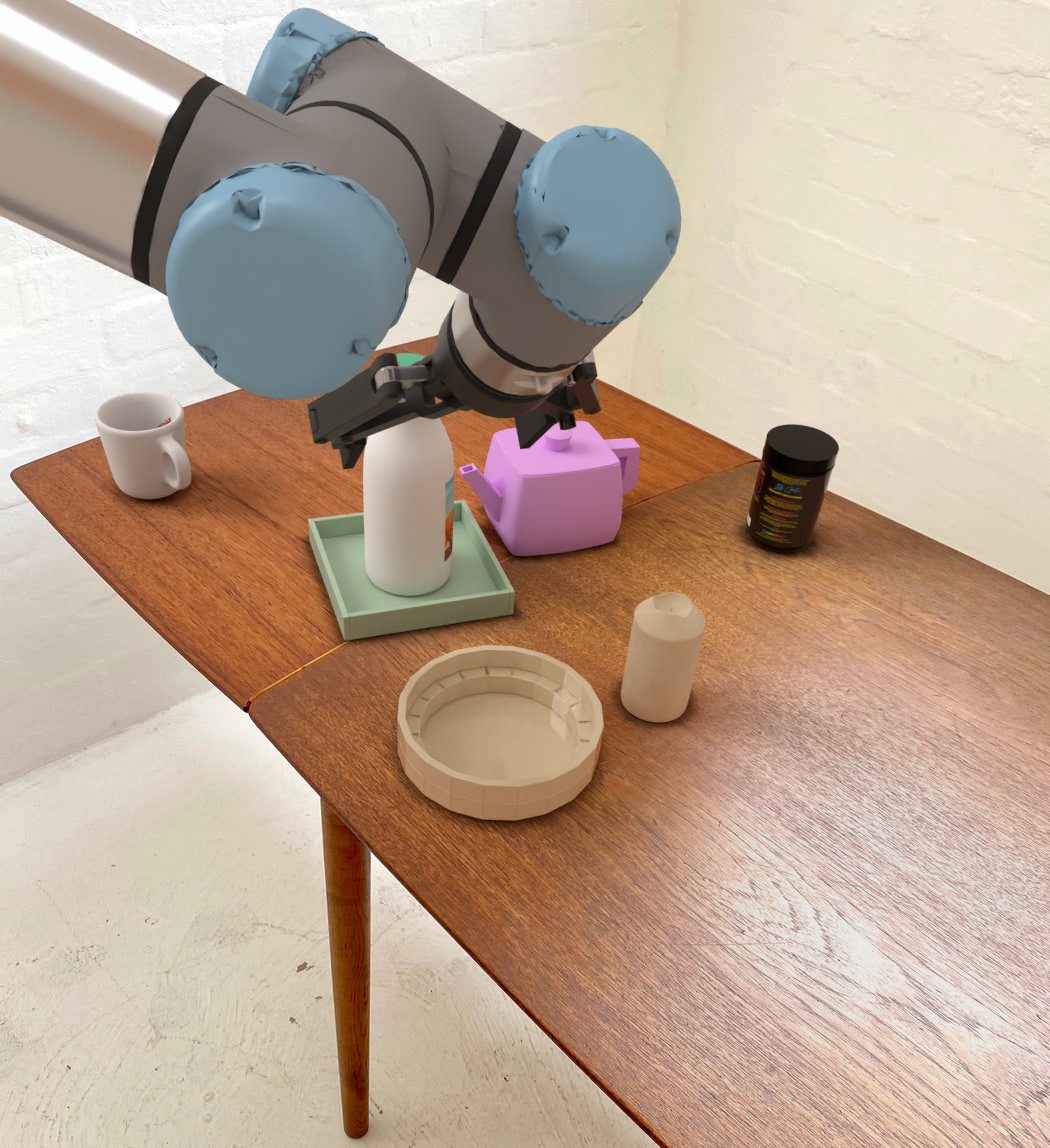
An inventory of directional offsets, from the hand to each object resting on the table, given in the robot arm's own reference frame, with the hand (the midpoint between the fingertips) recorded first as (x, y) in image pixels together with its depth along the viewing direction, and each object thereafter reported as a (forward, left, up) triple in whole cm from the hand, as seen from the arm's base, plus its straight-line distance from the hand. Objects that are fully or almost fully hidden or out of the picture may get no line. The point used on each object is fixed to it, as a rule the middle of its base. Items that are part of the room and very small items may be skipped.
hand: (435, 440), depth 82 cm
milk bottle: (0, +8, -18) cm, 20 cm away
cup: (-20, +27, -18) cm, 38 cm away
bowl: (+1, -15, -18) cm, 24 cm away
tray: (0, +8, -18) cm, 20 cm away
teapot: (+15, +13, -18) cm, 27 cm away
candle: (+15, -13, -18) cm, 27 cm away
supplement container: (+37, +6, -18) cm, 42 cm away
